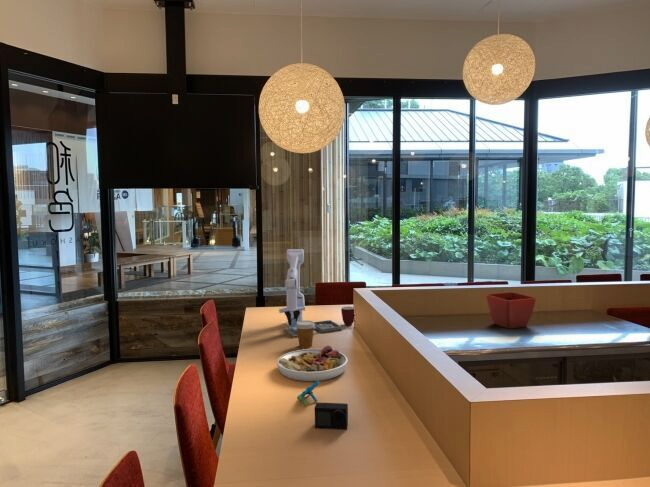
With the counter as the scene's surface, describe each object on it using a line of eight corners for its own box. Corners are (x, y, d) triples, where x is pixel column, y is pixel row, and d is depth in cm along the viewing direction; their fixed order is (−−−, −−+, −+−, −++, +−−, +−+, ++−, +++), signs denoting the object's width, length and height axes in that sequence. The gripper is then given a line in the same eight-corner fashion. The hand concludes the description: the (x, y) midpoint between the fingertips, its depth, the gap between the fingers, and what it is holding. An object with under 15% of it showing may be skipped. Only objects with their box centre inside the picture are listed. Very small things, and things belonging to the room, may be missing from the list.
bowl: (323, 389, 184) (323, 370, 184) (262, 375, 200) (262, 357, 200) (359, 366, 210) (359, 348, 209) (303, 355, 226) (303, 339, 225)
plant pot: (512, 319, 283) (512, 291, 281) (536, 327, 265) (536, 297, 263) (485, 322, 277) (485, 294, 275) (507, 331, 259) (508, 300, 257)
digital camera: (314, 430, 152) (313, 409, 151) (316, 422, 157) (316, 401, 157) (346, 431, 150) (346, 410, 150) (348, 423, 156) (347, 403, 155)
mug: (361, 325, 277) (361, 308, 276) (353, 328, 270) (353, 310, 269) (346, 322, 283) (346, 305, 282) (338, 325, 277) (338, 308, 276)
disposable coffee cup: (317, 344, 242) (317, 320, 241) (311, 349, 233) (310, 325, 232) (300, 342, 245) (299, 319, 244) (293, 348, 236) (292, 324, 235)
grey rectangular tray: (311, 326, 276) (311, 322, 276) (330, 323, 281) (330, 320, 281) (321, 333, 261) (321, 329, 261) (341, 330, 266) (341, 326, 266)
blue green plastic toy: (309, 388, 181) (321, 375, 175) (318, 401, 179) (331, 388, 173) (289, 402, 173) (301, 389, 167) (299, 415, 171) (312, 403, 165)
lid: (285, 324, 270) (285, 315, 270) (305, 322, 275) (305, 313, 274) (294, 331, 255) (294, 322, 255) (316, 329, 260) (316, 320, 259)
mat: (284, 329, 270) (284, 328, 270) (306, 326, 275) (306, 325, 275) (294, 336, 255) (294, 335, 255) (316, 333, 260) (316, 332, 260)
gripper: (281, 302, 255) (282, 327, 257) (306, 300, 261) (307, 324, 262) (277, 300, 262) (278, 324, 263) (302, 297, 267) (302, 321, 269)
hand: (292, 324), depth 263 cm, fingers closed on lid, 2 cm apart
